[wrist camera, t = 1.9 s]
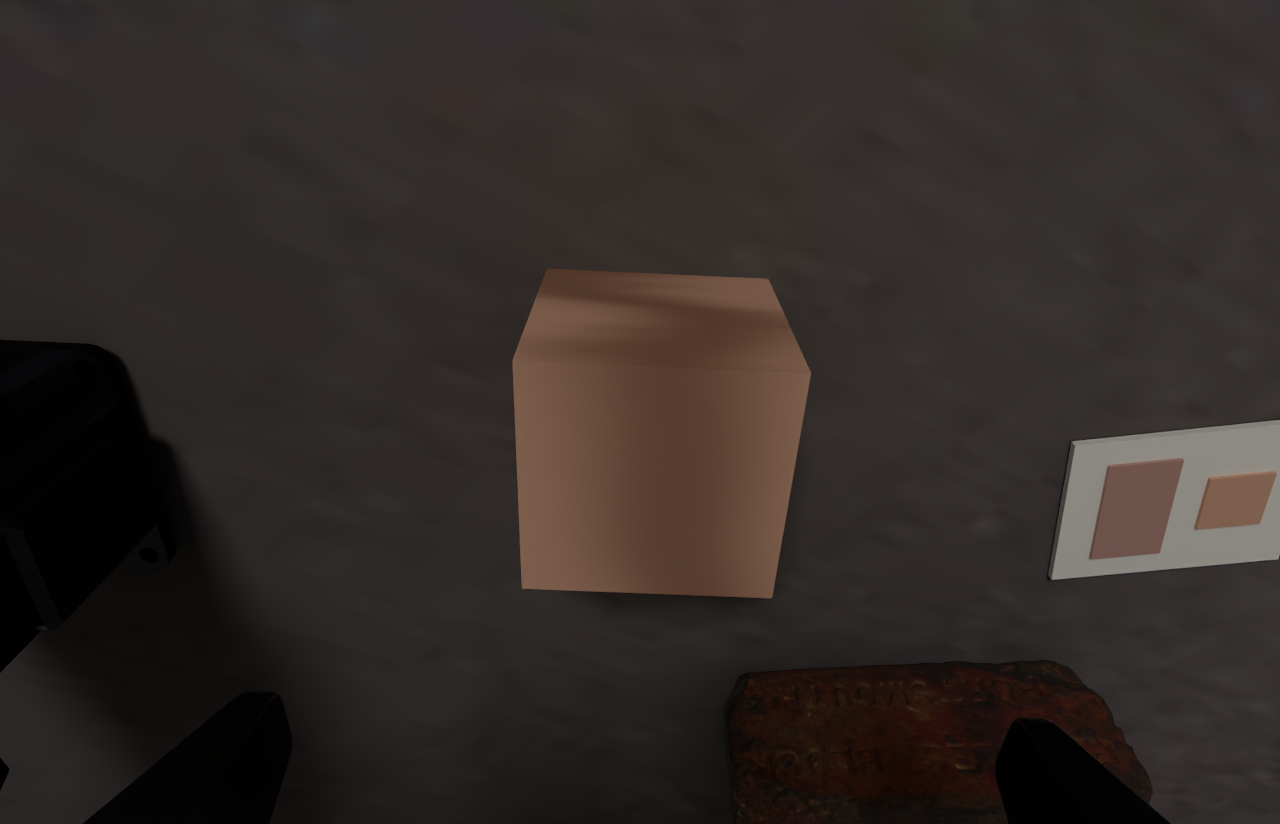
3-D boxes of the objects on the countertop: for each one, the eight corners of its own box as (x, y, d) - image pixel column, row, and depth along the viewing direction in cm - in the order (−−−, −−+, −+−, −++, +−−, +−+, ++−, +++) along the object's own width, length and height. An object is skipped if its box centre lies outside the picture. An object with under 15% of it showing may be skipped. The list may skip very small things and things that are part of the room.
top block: (550, 454, 19) (522, 588, 15) (547, 267, 17) (512, 360, 12) (743, 463, 19) (771, 598, 15) (767, 277, 17) (810, 373, 12)
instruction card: (1047, 574, 21) (1053, 582, 20) (1071, 441, 19) (1077, 447, 18) (1272, 554, 20) (1280, 561, 20) (1321, 415, 18) (1332, 421, 18)
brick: (1071, 645, 22) (1167, 790, 18) (1047, 733, 24) (1129, 882, 20) (719, 663, 23) (735, 807, 19) (723, 747, 25) (737, 895, 21)
